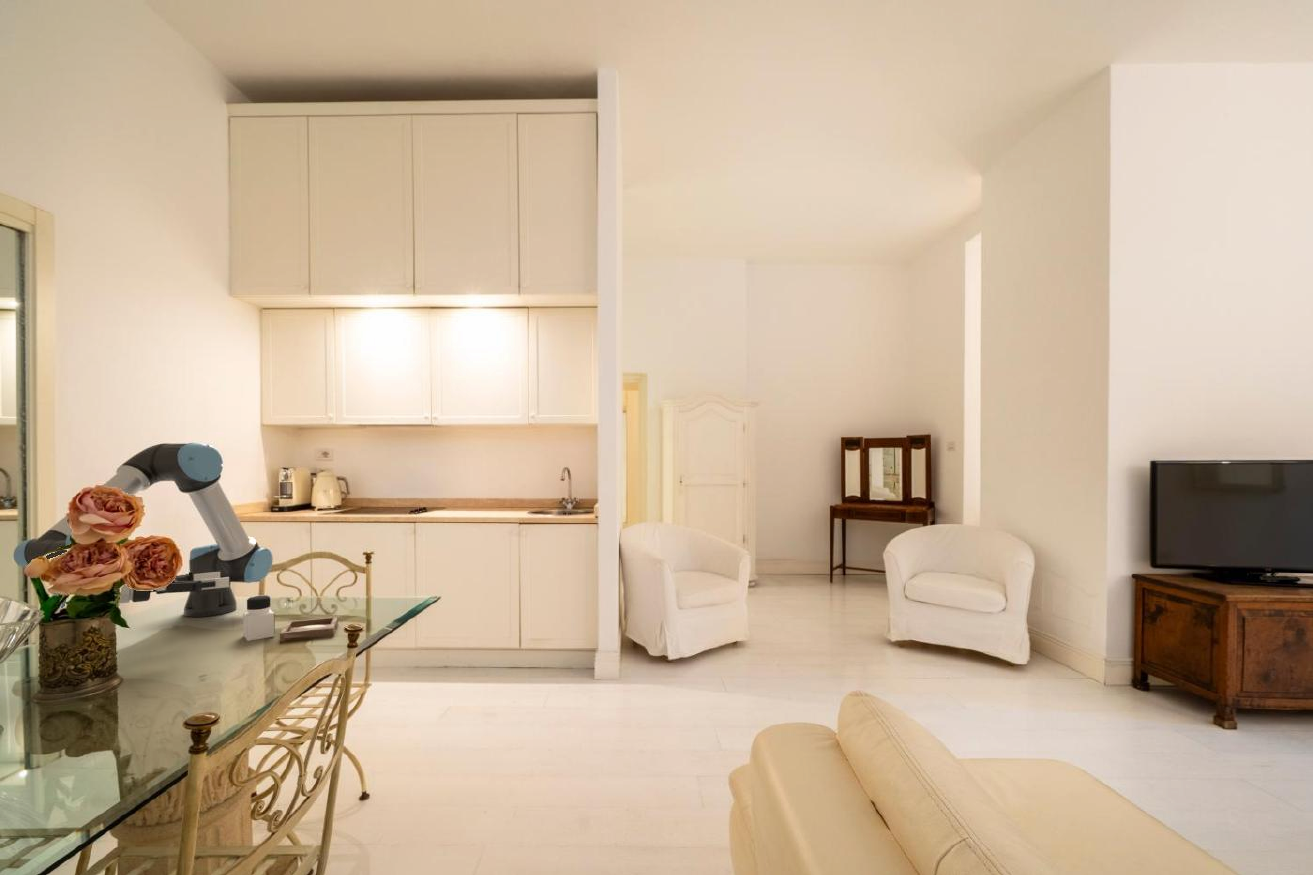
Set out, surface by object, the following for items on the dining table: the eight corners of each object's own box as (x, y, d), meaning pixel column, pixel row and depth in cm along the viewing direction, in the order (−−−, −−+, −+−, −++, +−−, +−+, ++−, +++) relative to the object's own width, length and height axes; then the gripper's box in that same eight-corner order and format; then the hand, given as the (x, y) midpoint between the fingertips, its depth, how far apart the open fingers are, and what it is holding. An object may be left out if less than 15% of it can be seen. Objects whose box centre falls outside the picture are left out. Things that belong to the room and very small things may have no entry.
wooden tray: (288, 629, 204) (288, 621, 204) (338, 624, 209) (338, 616, 209) (280, 642, 191) (279, 633, 191) (333, 636, 196) (333, 628, 196)
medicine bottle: (274, 636, 197) (274, 596, 197) (247, 641, 192) (246, 600, 192) (270, 631, 202) (269, 592, 202) (243, 636, 197) (242, 596, 198)
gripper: (127, 596, 186) (216, 586, 201) (135, 609, 168) (232, 598, 182) (128, 569, 187) (216, 562, 201) (135, 580, 168) (233, 570, 183)
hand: (224, 579), depth 192 cm, fingers open, 13 cm apart
